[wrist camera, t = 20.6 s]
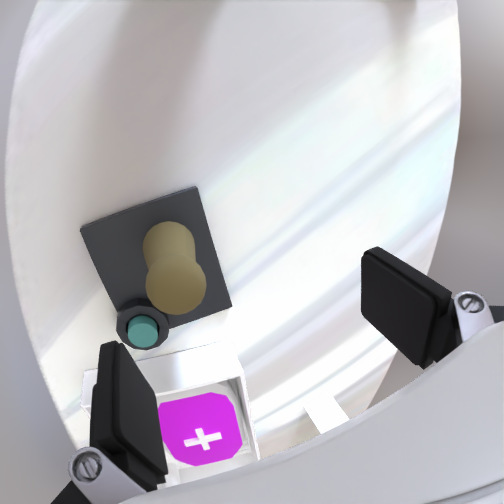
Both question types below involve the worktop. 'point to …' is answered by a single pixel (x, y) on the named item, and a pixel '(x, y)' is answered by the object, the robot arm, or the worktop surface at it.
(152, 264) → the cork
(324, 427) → the milk
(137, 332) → the button
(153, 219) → the scale
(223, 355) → the white tray with pad
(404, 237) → the worktop surface
